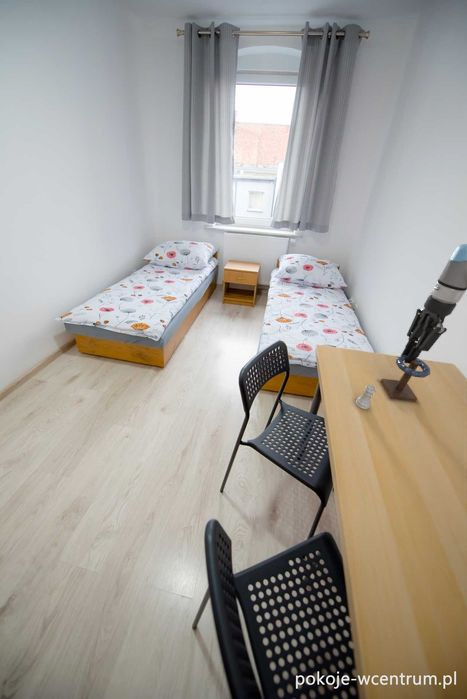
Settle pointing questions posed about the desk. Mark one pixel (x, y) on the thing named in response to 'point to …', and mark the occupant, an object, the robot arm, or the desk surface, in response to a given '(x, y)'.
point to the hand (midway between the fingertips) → (406, 359)
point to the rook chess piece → (365, 397)
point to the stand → (401, 386)
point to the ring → (410, 371)
